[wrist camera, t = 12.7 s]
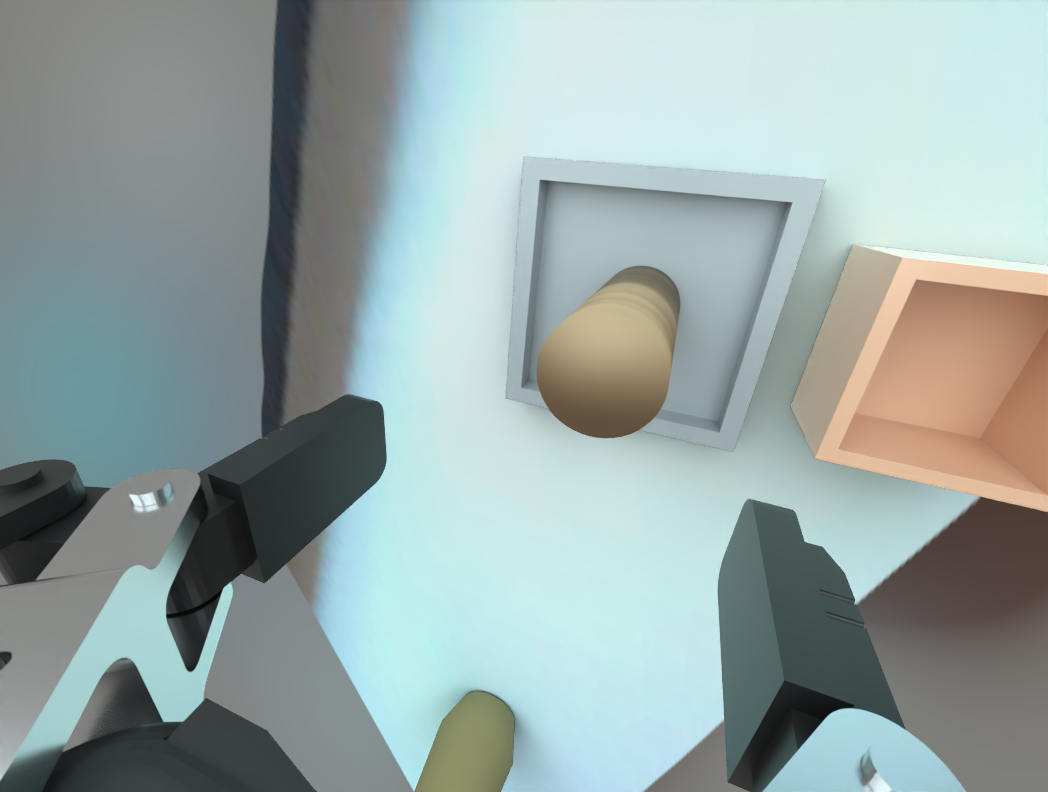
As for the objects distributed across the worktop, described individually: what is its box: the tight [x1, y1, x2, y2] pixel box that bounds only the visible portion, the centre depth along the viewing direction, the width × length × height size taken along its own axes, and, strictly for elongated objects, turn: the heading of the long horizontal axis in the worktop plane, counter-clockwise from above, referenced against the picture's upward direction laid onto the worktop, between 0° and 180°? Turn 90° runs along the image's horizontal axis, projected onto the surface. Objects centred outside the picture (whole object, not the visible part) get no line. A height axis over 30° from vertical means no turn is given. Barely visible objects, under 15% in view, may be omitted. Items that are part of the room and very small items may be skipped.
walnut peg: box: [536, 266, 680, 438], centre depth 20 cm, size 4×4×12 cm
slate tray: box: [506, 157, 826, 452], centre depth 25 cm, size 14×14×2 cm
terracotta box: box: [791, 244, 1048, 512], centre depth 20 cm, size 9×9×6 cm
